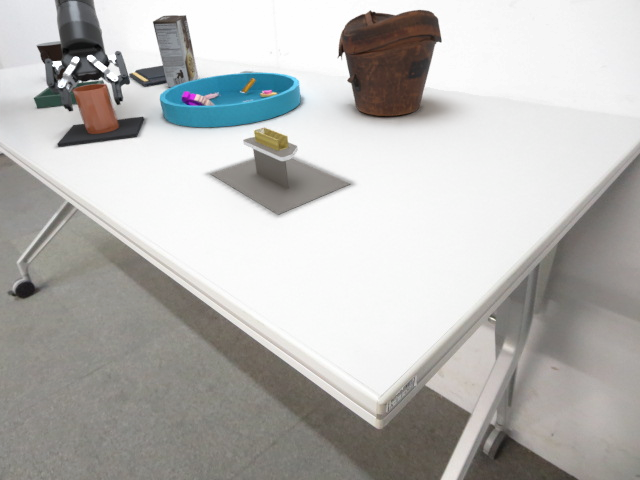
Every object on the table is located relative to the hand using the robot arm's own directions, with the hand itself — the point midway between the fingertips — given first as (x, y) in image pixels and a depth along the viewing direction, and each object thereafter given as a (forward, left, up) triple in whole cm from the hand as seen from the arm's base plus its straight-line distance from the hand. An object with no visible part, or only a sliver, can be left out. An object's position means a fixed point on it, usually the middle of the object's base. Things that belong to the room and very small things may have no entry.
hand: (94, 105), depth 84 cm
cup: (0, +1, -5) cm, 5 cm away
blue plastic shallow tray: (+26, +9, -6) cm, 28 cm away
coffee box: (+14, +40, -5) cm, 42 cm away
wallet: (+7, +52, -6) cm, 53 cm away
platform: (+30, -34, -6) cm, 45 cm away
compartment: (-14, +36, -5) cm, 39 cm away
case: (+56, -7, -6) cm, 57 cm away
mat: (0, +1, -5) cm, 6 cm away
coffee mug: (-26, +69, -6) cm, 74 cm away
